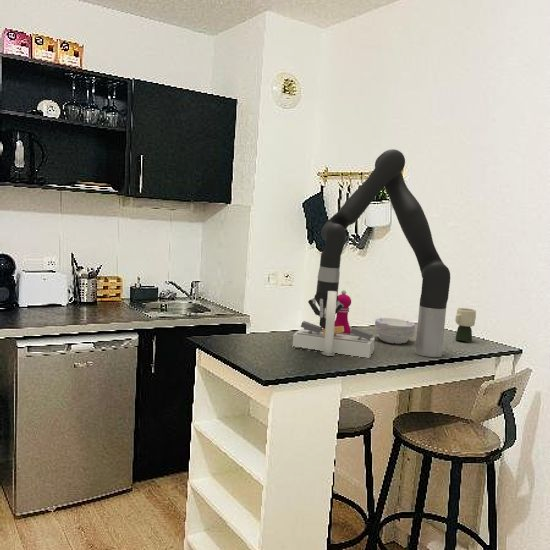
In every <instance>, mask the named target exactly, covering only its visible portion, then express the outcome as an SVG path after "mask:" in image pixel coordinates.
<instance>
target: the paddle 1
mask: <svg viewBox="0 0 550 550" xmlns="http://www.w3.org/2000/svg"><path fill="white" fill-rule="evenodd" d="M300 328H301V329H304V328H305V329H308V330H311V331H313V332H316V333H320V332H321V330H323V328H321V326H320V325H317V324H314V323H311V322H308V321H305V320H303V321H302V322H301V325H300Z"/></svg>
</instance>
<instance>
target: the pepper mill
mask: <svg viewBox="0 0 550 550" xmlns="http://www.w3.org/2000/svg"><path fill="white" fill-rule="evenodd" d="M338 299H339V300H338V301H339V302H340V303H341V304H343V305H344V306H343V307H342V308H341V309H340V310H339V311H338V312H337V313H336V315H335V325H334V327H336V326H344V332H341V333H346V334H351V330H352V329H351V326H350V323H349V320H348V319H349V318H348V317H349V316H348V315H349V312H350V306H351V305H352V299H351V297H350V296H349V295H348V294H347V292H346V290H344V289H343V290H342V291H341V292H340V294H338ZM336 305H337V304H336Z"/></svg>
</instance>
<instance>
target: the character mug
mask: <svg viewBox="0 0 550 550" xmlns="http://www.w3.org/2000/svg"><path fill="white" fill-rule="evenodd" d="M476 316H477V310H475V309H473V308H467V307H458V308H457V309H456V315H455V323H456V324H457V325H458V327H457V329H456V333H455V340H457V341H460V342H462V341H463V342H472V341H473V331H472V327H474V326H475V323H476V319H477V317H476Z"/></svg>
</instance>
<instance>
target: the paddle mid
mask: <svg viewBox="0 0 550 550" xmlns="http://www.w3.org/2000/svg"><path fill="white" fill-rule="evenodd" d="M322 330H323V334H325V328H322ZM341 332H344V326H336V327H334V333H341Z"/></svg>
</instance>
